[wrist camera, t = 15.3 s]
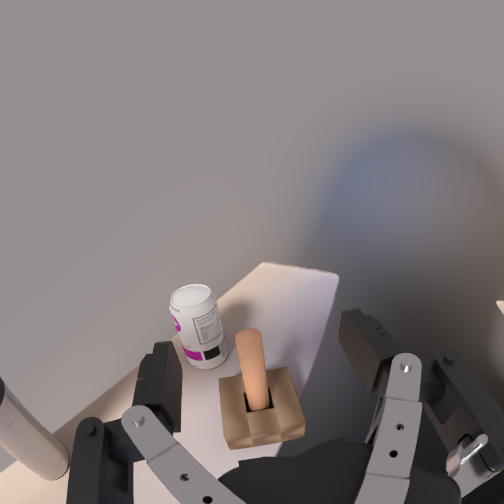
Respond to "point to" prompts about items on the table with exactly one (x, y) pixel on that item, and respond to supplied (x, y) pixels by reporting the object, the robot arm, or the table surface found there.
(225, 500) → the robot arm
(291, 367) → the table surface
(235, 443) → the socket block
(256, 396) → the peg
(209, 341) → the supplement can
